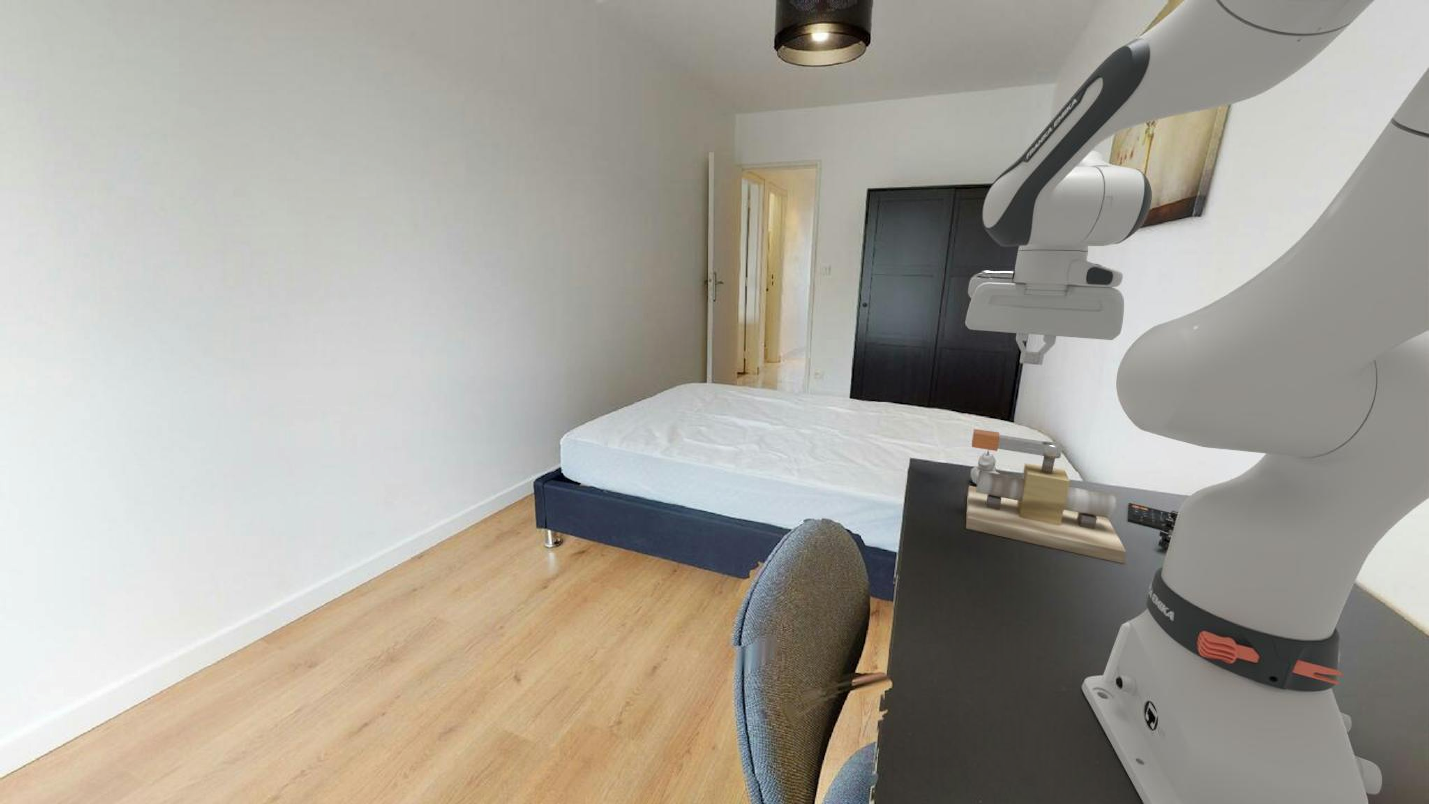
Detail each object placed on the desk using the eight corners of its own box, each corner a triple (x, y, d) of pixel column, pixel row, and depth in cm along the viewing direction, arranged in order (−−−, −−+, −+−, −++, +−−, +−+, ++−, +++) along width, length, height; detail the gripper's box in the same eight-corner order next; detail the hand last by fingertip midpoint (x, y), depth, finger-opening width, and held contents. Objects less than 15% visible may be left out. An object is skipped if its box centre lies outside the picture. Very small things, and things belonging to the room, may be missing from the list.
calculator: (1127, 506, 101) (1131, 492, 100) (1208, 526, 94) (1212, 511, 93) (1127, 523, 94) (1131, 507, 93) (1214, 545, 87) (1219, 529, 86)
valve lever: (1058, 456, 88) (1061, 441, 88) (1061, 461, 86) (1064, 446, 85) (971, 442, 94) (974, 428, 93) (971, 447, 91) (974, 433, 91)
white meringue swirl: (963, 484, 108) (969, 448, 106) (976, 477, 112) (982, 442, 110) (991, 493, 104) (997, 455, 102) (1003, 485, 108) (1010, 449, 106)
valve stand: (1123, 563, 79) (1143, 486, 76) (966, 528, 88) (978, 458, 85) (1101, 521, 93) (1117, 455, 90) (967, 495, 102) (977, 434, 99)
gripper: (970, 269, 78) (956, 359, 82) (1137, 274, 70) (1114, 374, 73) (971, 270, 84) (958, 354, 87) (1125, 275, 75) (1104, 368, 79)
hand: (1030, 363), depth 80 cm, fingers closed
